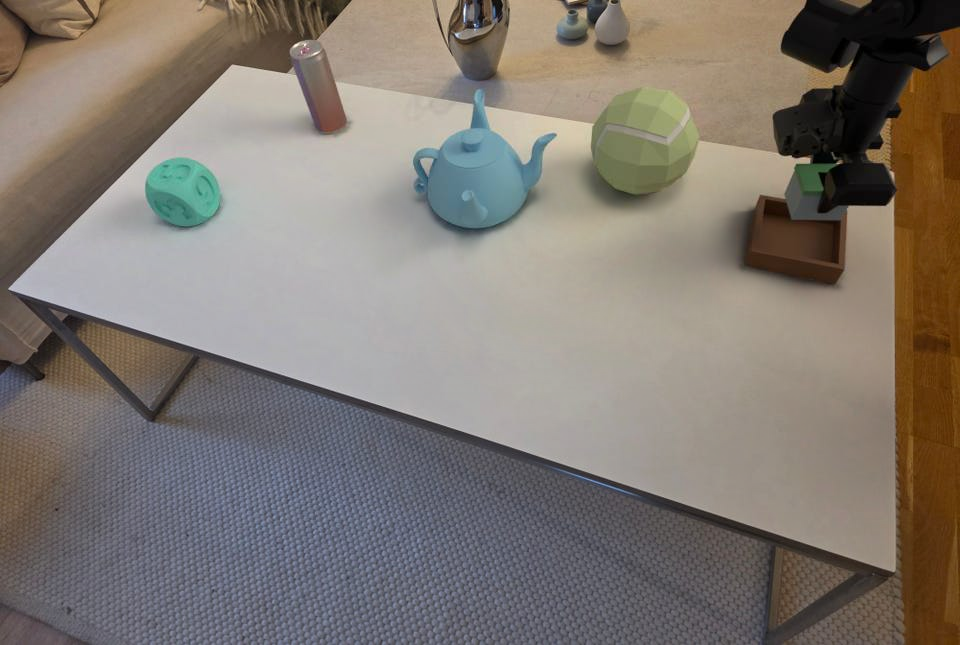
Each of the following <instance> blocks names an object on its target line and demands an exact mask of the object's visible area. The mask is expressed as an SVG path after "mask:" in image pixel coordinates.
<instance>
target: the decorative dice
mask: <svg viewBox="0 0 960 645" xmlns="http://www.w3.org/2000/svg"><path fill="white" fill-rule="evenodd" d="M149 171H150V172H148V174H147V178H146V180H145V186H144V191H145V197H146V201H147V203H148V205H149V207H150V208H151V210H152V211H153V212H154V213H155V214H156V215H157V216H158V217H159V218H161V219H163V220H164V221H166V222H168V223H170V224H172V225H175V226H179V227H194V226H198V225H201V224H202V223H205V222H207V221H208V220H209V219H211V218H212V217H213V216H214V215H215V214H216V213H217V210H218V209H219V205H220V201H221V190H220V189H221V188H220V185H219V182H218V179H217V178H216V176H215V174H214V173H213V172H212V170H210V169H209V168H208V167H207V166H206V165H204V164H202V163H201V162H199V161H198V160H194V159H192V158H188V157H183V156H181V157H180V156H179V157H172V158H169V159H166V160H164V161H162V162H160V163H158V164H157V165H155V166H154V167H153V168H152V169H151V170H149Z"/></svg>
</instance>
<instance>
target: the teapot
mask: <svg viewBox="0 0 960 645" xmlns="http://www.w3.org/2000/svg"><path fill="white" fill-rule="evenodd" d="M472 105H473V106H472V114H471V115H472V116H471V122H470V128H467V129H466V128H465V129H463V130H460V131H459V130H458V131H457V132H455V133H453V134H451V135H450V136H448V138H447V139H446V140H445V141H444V142H443V143H442V144H441V146H440V148H439V149H437V148H434V147H423V148H421V149H419V150H418V151H417V152H416V153H415V155H414V156H413V159H412V163H413V168H414V171H415V173H416V175H417V177H418V178H416V179H415V180H414V182H413V190H414V191H415V193H417V194H419V195H423V196H425V195H427V198H428V202H429V205H430V206H431V208H432V209H433V211H434V213H435V214H437V216H439V217H440V218H441V219H443V220H444V221H446V222H448V223H450V224H452V225H454V226H458V227H460V228H465V229H485V228H490V227H493V226H496V225H497V226H498V225H499V224H502V223H503V222H505V221H506V220H508V219H510V218H511V217H512V216H513V215H514V214H516V213H517V212H518V211H519V210H520V209H521V207H522V206H523V205H524V202H525V201H526V198H527V196H528V193H529V191H530V190H531V189H533V188H534V187H535V186H536V185H537V184H538V183H539V181H540V179H541V176H542V172H543V158H544V152H545V149H546V147H547V146H548V144H550V143H551V142H552V141H553V140H554V139H556V137H557V136H558V135H557V133H556V132H550V133H547V134H544V135H542V136H540V137H539V138H537V139H536V140H535V142H534V143H533V145H532V148H531V155H530V159H529V160H528V162H526V163H525V164H523V162H522V160H521V157H520V156H519V155H518V153H517V151H516V150H515V149H514V148H513V146H512V145H511V144H509V142H508V141H507V140H506V139H504V137H502V136H501V135H500V134H498V133H497V132H495V131H493V130H492V129H491V127H490V123H489V120H488V117H487V113H486V109H485V92H484V89H482V88H478V89H476V91H475V93H474V96H473V104H472ZM422 159H433V160H432V163H431V165H430V167H429V168H430V169H429V172H428V174H427V173H426V171H425V169H424V167H423V165H422V162H421V160H422Z"/></svg>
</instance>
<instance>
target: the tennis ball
mask: <svg viewBox="0 0 960 645" xmlns="http://www.w3.org/2000/svg"><path fill="white" fill-rule="evenodd" d="M591 128H592V129H591V137H590V138H591V140H590V151H591V156H592V161H593V163H594V165H595V167H596V169H597V171H598V173H599V175H600V176H601V177H602V178H603V179H604V180H605V181H606V182H607V183H608V184H609V185H611V187H613V188H614V189H615V190H618V191H621V192H623V193H624V192H625V193H628V194H632V195H634V196H639V195H645V194H652V193H657V192H660V191H662V190H664V189H666V188H667V187H670V186H672V185H673V184H674V183H676V181H678V180H679V179H680V178H681V177H683V176H684V175H685V174H686V173H688V170H689V168H690V166H691V164H692V163H693V160H694V158H695V155H696V152H697V148H698V144H699V140H700V134H699V130H698V129H697V126H696V123H695V121H694V118H693V114H692V110H691V107H690V106H689V105H688V104H687V102H686V101H684V99H682V98H681V97H679V95H677V94H676V93H674V92H673V91H672V90H668V89H664V88H659V87H654V86H642V87H639V88H635V89H632V90H629V91H628V90H627V91H625V92H621V93H618V94H616V95H615V96H614V97H613V98H612V99H611V101H610V102H609V103H608V105H607V106H606V107H605V108H604V109H603V111H601V113H600V114H599V116H598V118H597V119H596V121H595V122H594V123H593V124H592V126H591Z"/></svg>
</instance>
